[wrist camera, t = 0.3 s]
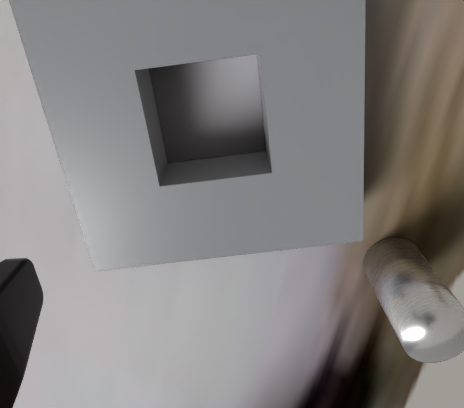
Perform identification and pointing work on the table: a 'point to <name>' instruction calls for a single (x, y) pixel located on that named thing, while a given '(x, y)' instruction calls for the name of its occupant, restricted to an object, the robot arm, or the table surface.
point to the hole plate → (210, 169)
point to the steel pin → (415, 300)
